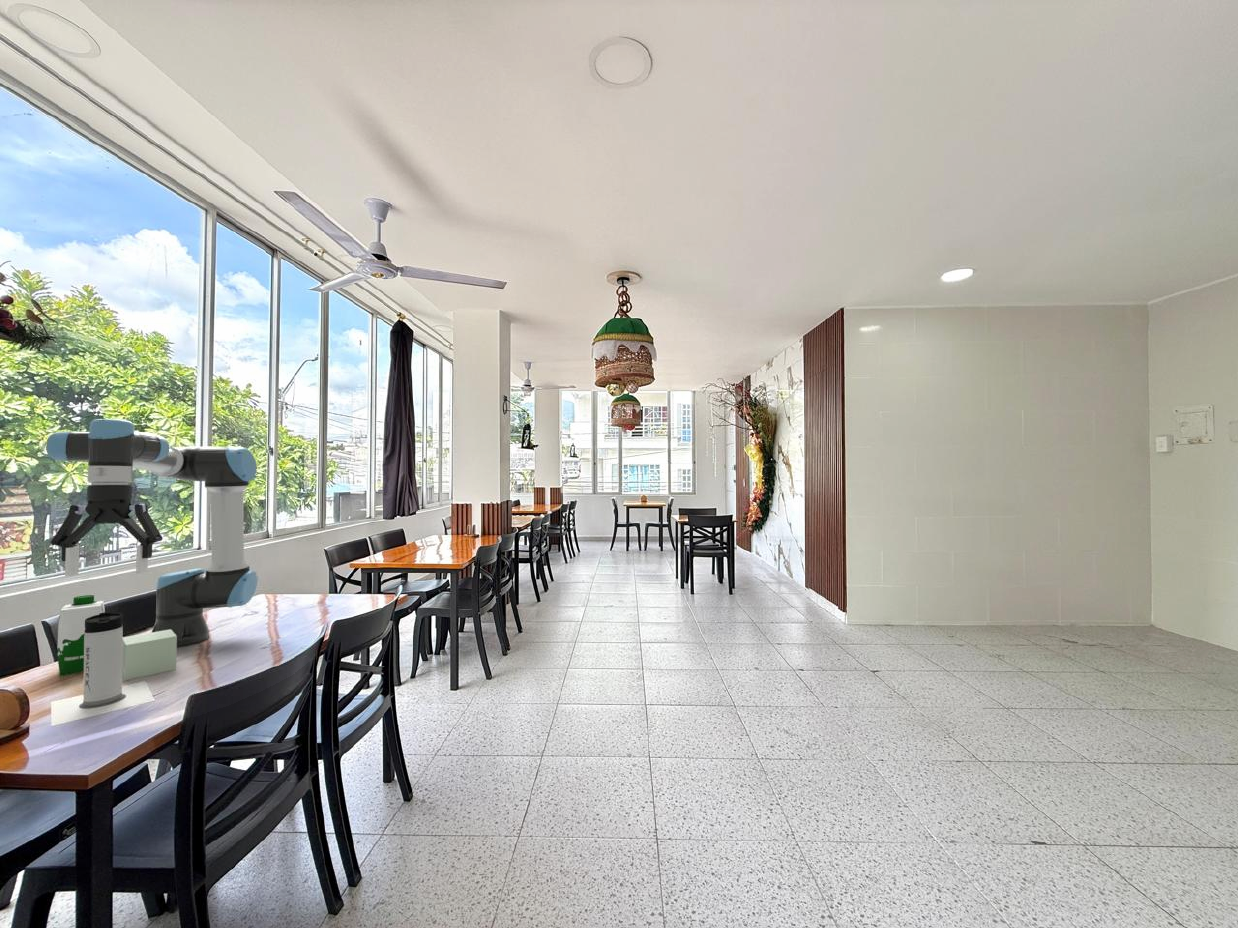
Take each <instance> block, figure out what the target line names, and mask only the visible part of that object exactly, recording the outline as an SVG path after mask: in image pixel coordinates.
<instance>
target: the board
mask: <svg viewBox="0 0 1238 928" xmlns="http://www.w3.org/2000/svg"><path fill="white" fill-rule="evenodd" d="M121 690H122V696H121V697H120V698H119V699H117V700H115V701H113V702H110V703H107V704H103V705H98V706H84V705H83V699H84V697H83V694H81V695H75V696H72V697H68V698H63V699H59V700H54V701H51V702H50V717H51V718H50V723H51V724H50V726H51V727H54V726H55V727H56V726H59V725H63V724H66V723H71V722H75V721H78V720H83V719H88V718H92V717H95V716H99V715H103V714H108V713H112V712H115V711H119V710H123V709H128V708H131V707H136V706H140V705H143V704H148V703H152V702H155V701H156V699H155V698H154V696H153V694H152V692H151V690H150V688H149V685H148V684H147V682H146V681H145V680H143V681H139V682H134V683H131V684H125V685H122V689H121Z"/></svg>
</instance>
